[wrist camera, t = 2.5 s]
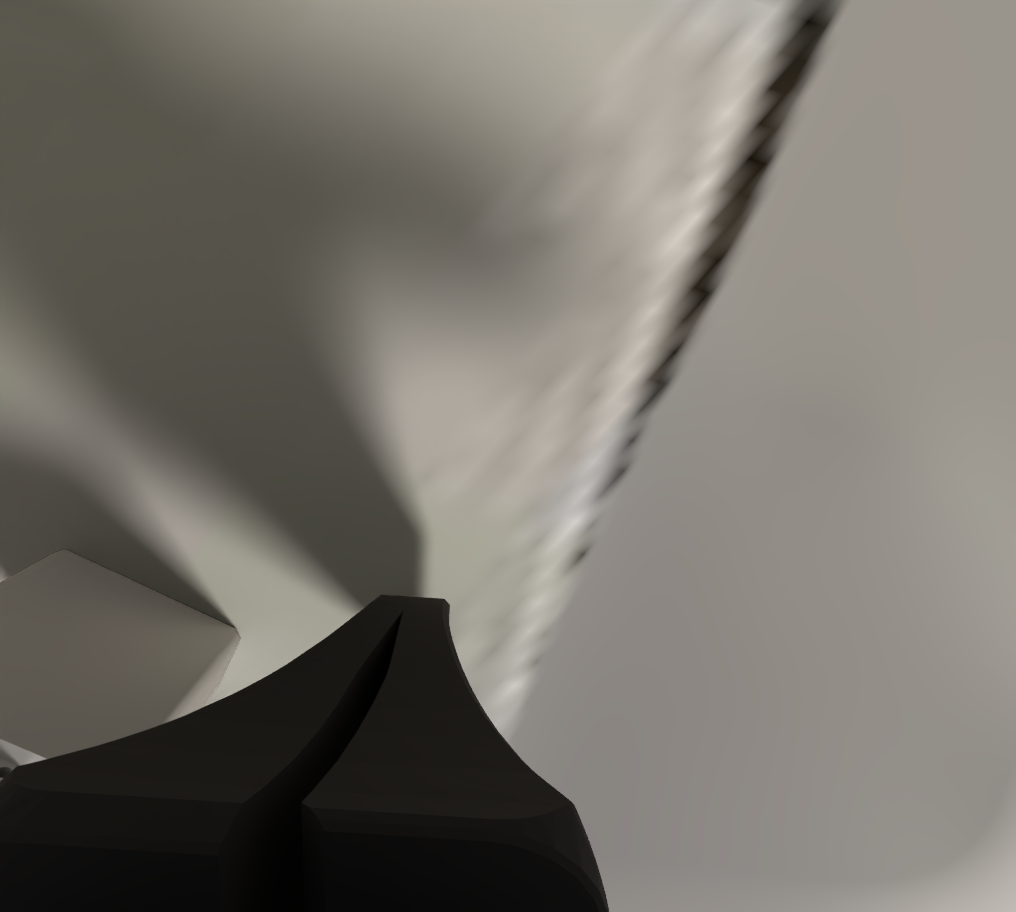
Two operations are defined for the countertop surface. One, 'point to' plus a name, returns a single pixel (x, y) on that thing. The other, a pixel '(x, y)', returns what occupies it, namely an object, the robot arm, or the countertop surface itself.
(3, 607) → the lighter
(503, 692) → the countertop surface
